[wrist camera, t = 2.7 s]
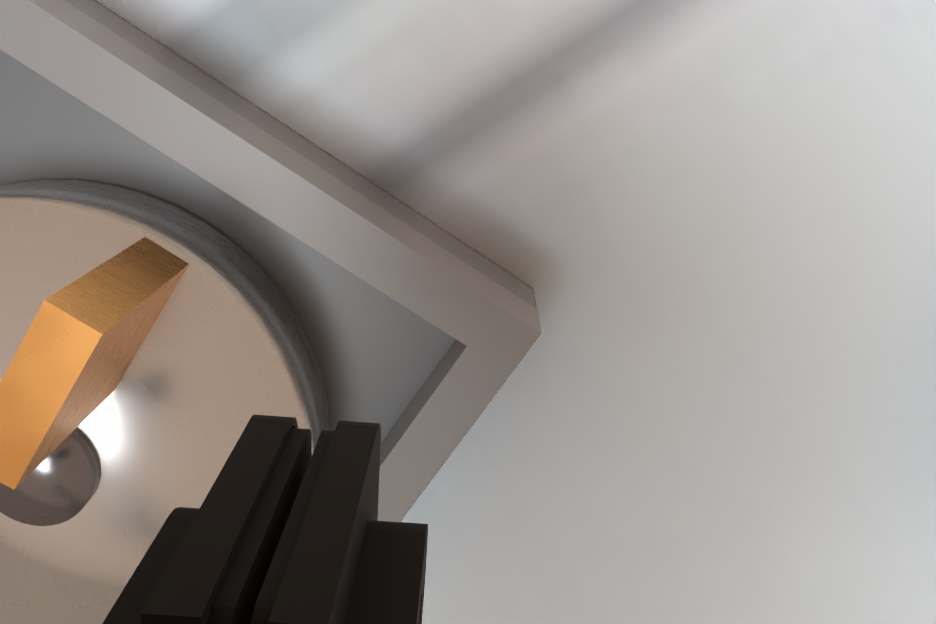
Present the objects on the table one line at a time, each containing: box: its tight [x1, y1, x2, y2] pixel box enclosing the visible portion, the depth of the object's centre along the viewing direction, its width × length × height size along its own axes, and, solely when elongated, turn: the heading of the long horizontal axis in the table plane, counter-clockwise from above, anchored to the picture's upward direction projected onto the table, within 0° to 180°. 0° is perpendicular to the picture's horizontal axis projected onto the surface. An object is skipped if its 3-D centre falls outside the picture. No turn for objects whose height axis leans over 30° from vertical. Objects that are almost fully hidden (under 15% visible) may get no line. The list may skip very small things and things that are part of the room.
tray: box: [0, 0, 541, 522], centre depth 26 cm, size 20×18×4 cm
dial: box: [0, 180, 329, 624], centre depth 22 cm, size 14×14×8 cm
